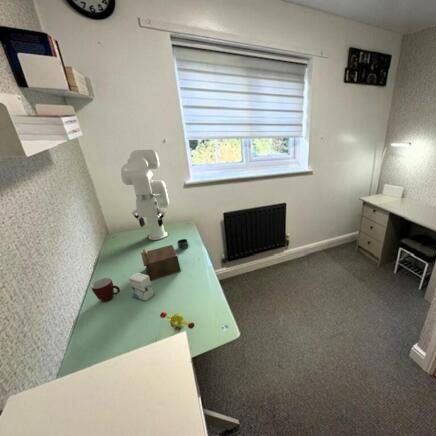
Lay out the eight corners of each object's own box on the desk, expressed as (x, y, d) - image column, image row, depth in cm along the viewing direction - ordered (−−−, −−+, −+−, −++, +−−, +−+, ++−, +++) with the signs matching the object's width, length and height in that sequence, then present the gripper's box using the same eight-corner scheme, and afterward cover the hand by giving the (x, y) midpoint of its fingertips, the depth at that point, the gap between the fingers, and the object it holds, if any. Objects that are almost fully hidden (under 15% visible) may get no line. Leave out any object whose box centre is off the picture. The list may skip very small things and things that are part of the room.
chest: (150, 280, 131) (145, 265, 127) (146, 267, 142) (142, 253, 138) (180, 271, 140) (177, 256, 136) (175, 259, 151) (172, 245, 147)
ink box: (133, 296, 120) (127, 278, 115) (142, 290, 124) (136, 272, 119) (146, 301, 117) (140, 282, 112) (154, 294, 121) (149, 275, 117)
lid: (144, 266, 127) (141, 258, 125) (141, 253, 138) (139, 246, 136) (177, 256, 136) (175, 249, 134) (172, 245, 147) (170, 238, 145)
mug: (124, 291, 123) (119, 275, 119) (120, 301, 116) (114, 285, 112) (100, 295, 120) (94, 279, 116) (94, 306, 113) (87, 290, 109)
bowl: (177, 246, 166) (176, 240, 164) (187, 243, 169) (186, 238, 168) (179, 250, 161) (178, 244, 159) (189, 247, 164) (188, 241, 163)
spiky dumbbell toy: (157, 326, 103) (154, 314, 101) (167, 317, 108) (164, 305, 105) (190, 339, 98) (187, 327, 95) (199, 329, 102) (197, 317, 100)
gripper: (164, 194, 128) (170, 222, 135) (131, 194, 127) (139, 223, 134) (158, 198, 121) (165, 228, 128) (123, 198, 120) (132, 228, 127)
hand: (152, 225), depth 131 cm, fingers open, 9 cm apart
